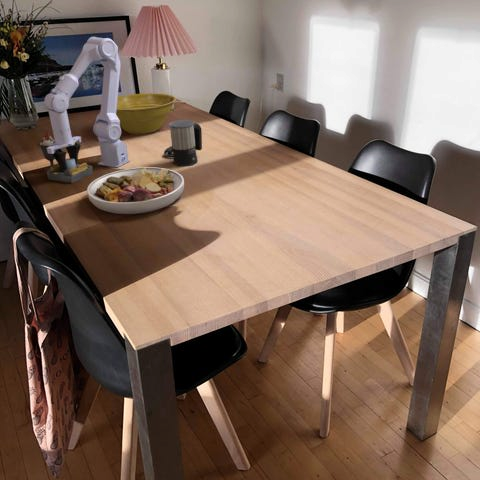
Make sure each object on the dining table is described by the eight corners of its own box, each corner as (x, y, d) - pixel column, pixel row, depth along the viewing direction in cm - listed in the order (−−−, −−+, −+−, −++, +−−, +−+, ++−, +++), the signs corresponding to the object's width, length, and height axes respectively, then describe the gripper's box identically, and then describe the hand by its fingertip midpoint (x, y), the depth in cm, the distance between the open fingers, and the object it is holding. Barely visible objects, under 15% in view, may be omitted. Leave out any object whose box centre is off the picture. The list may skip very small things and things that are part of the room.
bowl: (85, 189, 170) (80, 167, 166) (172, 175, 178) (170, 153, 175) (95, 226, 145) (90, 201, 141) (196, 207, 153) (194, 183, 150)
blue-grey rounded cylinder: (80, 174, 182) (77, 158, 179) (72, 179, 178) (69, 163, 175) (71, 173, 183) (67, 157, 181) (62, 178, 180) (59, 162, 177)
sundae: (57, 173, 184) (48, 132, 177) (40, 172, 185) (31, 132, 178) (66, 167, 190) (57, 127, 183) (49, 166, 191) (41, 127, 184)
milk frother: (191, 167, 184) (187, 127, 177) (152, 164, 189) (147, 124, 182) (206, 155, 196) (203, 116, 189) (169, 152, 201) (165, 114, 194)
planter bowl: (117, 121, 245) (112, 93, 239) (183, 120, 243) (180, 91, 237) (98, 141, 217) (92, 110, 210) (172, 140, 215) (169, 108, 209)
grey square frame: (93, 172, 183) (91, 162, 181) (72, 183, 174) (69, 172, 173) (69, 168, 187) (67, 158, 186) (48, 179, 179) (45, 168, 177)
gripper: (55, 136, 166) (63, 175, 172) (84, 124, 177) (91, 162, 184) (38, 134, 169) (47, 173, 175) (69, 123, 180) (76, 159, 186)
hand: (69, 167), depth 179 cm, fingers open, 5 cm apart
